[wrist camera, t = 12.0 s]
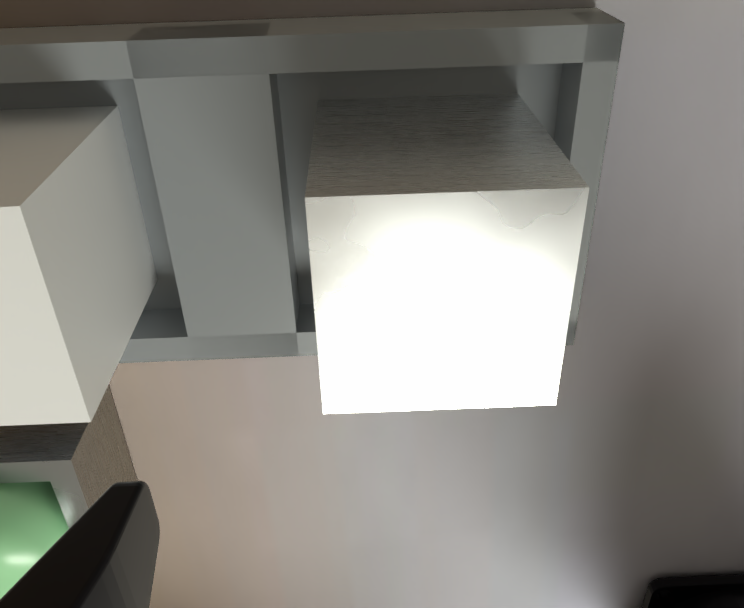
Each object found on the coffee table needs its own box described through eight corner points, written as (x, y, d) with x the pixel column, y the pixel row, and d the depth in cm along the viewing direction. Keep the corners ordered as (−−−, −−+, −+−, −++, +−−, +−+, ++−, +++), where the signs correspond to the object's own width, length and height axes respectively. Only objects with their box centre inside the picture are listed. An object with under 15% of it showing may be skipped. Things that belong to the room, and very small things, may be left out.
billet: (517, 93, 17) (589, 187, 12) (502, 267, 20) (555, 405, 15) (317, 100, 17) (305, 197, 12) (329, 274, 20) (322, 414, 15)
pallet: (596, 7, 17) (719, 76, 11) (555, 307, 21) (627, 460, 16) (-180, 34, 16) (-446, 118, 11) (-50, 330, 21) (-192, 494, 15)
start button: (77, 418, 22) (29, 515, 19) (105, 498, 24) (66, 599, 21) (-40, 422, 22) (-109, 521, 19) (-2, 502, 24) (-59, 604, 21)
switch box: (107, 381, 22) (70, 459, 19) (145, 507, 25) (119, 591, 22) (-79, 388, 22) (-145, 468, 19) (-17, 514, 25) (-66, 600, 22)
